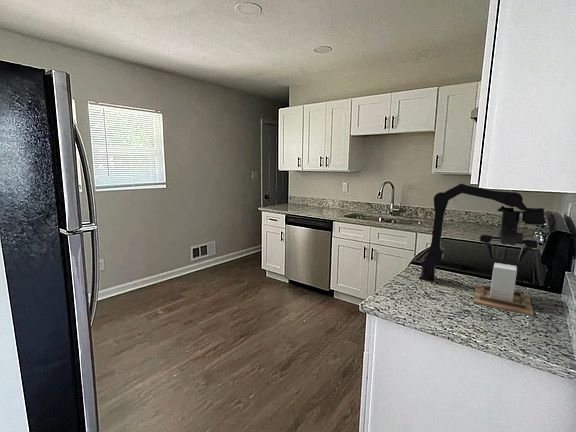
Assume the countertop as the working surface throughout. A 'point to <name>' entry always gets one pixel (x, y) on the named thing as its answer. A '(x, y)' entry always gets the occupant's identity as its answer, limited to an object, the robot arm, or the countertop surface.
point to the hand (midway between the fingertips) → (505, 260)
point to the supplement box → (503, 282)
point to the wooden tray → (518, 305)
